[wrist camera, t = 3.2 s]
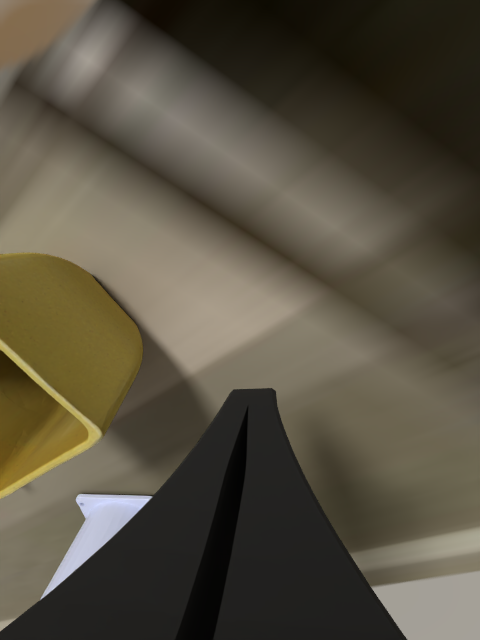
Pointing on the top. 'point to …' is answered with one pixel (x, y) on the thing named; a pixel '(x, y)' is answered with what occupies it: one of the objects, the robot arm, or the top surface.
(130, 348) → the flower pot
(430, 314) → the top surface
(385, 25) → the top surface
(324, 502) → the top surface
